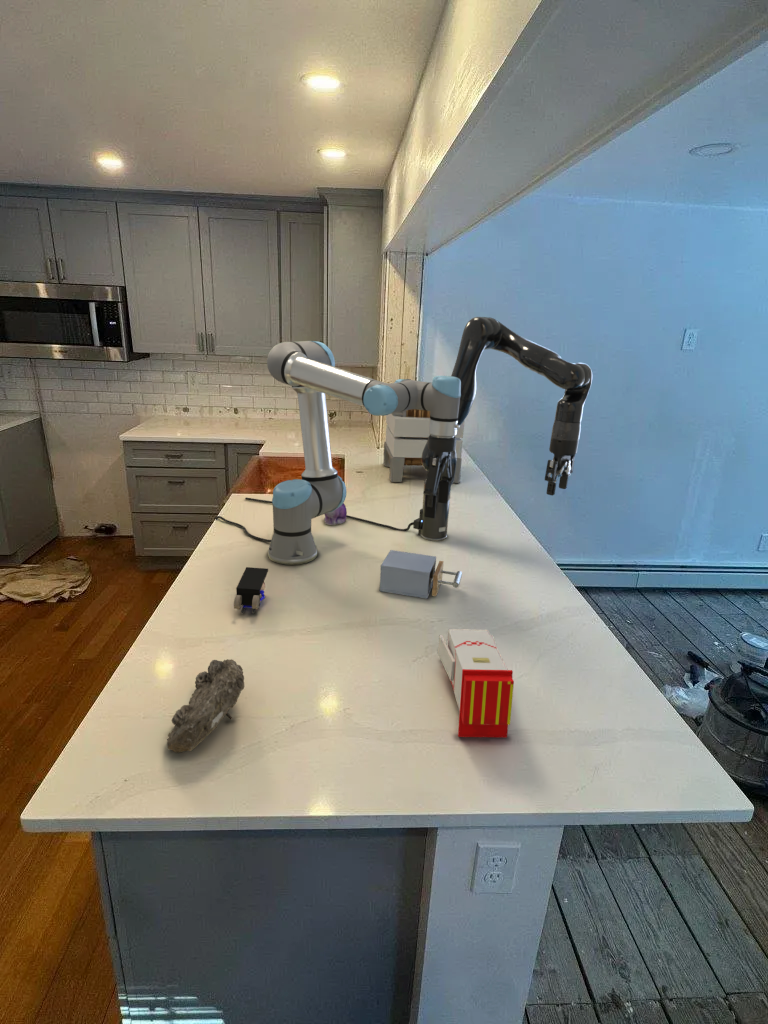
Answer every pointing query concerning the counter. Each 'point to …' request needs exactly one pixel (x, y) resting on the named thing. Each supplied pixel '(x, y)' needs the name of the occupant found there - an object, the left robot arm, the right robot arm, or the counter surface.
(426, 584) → the cabinet
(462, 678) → the toy
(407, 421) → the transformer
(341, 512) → the figurine
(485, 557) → the counter surface
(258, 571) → the black wheeled rover
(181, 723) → the fossil
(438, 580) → the drawer
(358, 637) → the counter surface
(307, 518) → the left robot arm
